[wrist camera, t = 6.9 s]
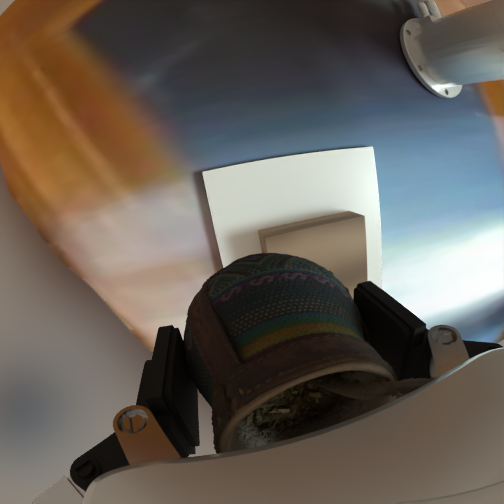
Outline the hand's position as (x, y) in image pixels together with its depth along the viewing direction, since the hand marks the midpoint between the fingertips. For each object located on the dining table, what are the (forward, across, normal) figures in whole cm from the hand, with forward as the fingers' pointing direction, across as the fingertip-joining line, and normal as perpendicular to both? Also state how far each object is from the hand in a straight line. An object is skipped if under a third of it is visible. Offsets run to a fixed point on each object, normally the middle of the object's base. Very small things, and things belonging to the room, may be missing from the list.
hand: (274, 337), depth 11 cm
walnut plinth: (+17, -8, +5) cm, 19 cm away
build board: (+17, -8, +5) cm, 20 cm away
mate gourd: (+3, 0, 0) cm, 3 cm away
